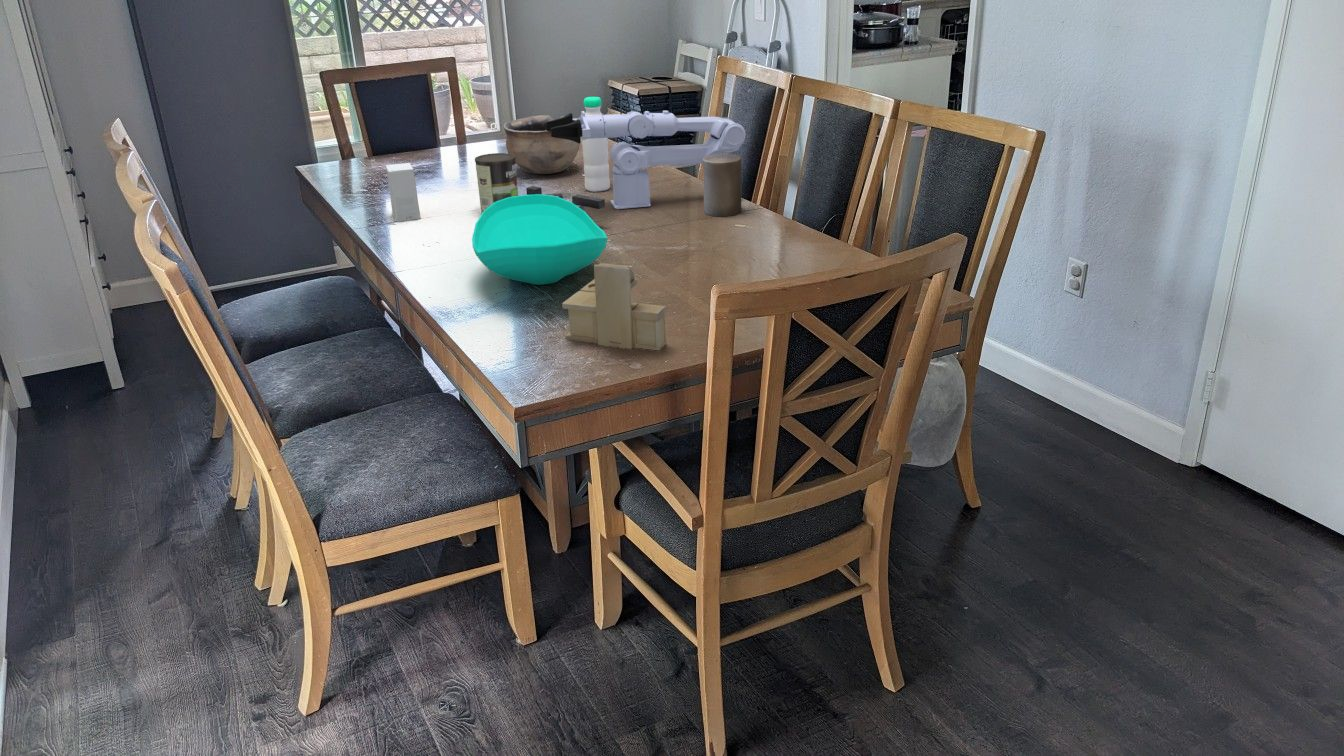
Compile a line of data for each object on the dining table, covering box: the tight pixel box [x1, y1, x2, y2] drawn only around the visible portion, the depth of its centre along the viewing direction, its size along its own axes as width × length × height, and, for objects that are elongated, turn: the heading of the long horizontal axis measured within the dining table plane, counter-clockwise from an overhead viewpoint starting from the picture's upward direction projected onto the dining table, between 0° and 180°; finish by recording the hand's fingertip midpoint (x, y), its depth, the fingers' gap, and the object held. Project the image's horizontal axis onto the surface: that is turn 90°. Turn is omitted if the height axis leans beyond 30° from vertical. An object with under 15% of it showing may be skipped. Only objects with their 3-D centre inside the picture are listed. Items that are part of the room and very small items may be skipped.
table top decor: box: [471, 193, 608, 286], centre depth 207 cm, size 40×28×13 cm
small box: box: [385, 162, 421, 223], centre depth 254 cm, size 8×6×13 cm
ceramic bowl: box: [503, 115, 581, 175], centre depth 294 cm, size 22×22×15 cm
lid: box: [525, 185, 606, 210], centre depth 247 cm, size 14×24×3 cm, turn 53°
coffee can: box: [474, 152, 519, 214], centre depth 257 cm, size 10×10×14 cm
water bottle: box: [581, 96, 611, 193], centre depth 272 cm, size 7×7×25 cm
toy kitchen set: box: [561, 262, 667, 351], centre depth 180 cm, size 18×17×15 cm
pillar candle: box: [702, 153, 743, 217], centre depth 250 cm, size 10×10×15 cm
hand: (548, 129), depth 248 cm, fingers open, 7 cm apart
